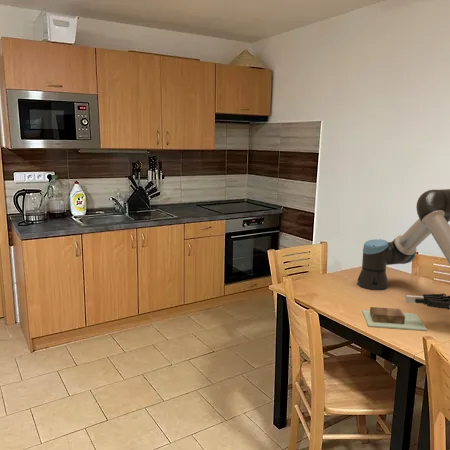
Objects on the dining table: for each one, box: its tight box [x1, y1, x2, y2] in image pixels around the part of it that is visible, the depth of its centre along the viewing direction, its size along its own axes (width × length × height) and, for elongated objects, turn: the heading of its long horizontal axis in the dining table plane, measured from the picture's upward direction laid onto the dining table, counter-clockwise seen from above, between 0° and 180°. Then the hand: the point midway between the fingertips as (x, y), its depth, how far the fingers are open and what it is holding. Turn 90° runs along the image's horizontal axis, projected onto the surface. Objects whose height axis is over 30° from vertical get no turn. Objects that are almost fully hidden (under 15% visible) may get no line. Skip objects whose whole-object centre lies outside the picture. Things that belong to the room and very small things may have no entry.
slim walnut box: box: [369, 306, 405, 323], centre depth 174 cm, size 3×8×12 cm
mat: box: [361, 309, 428, 332], centre depth 174 cm, size 22×16×1 cm
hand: (406, 298), depth 171 cm, fingers closed
